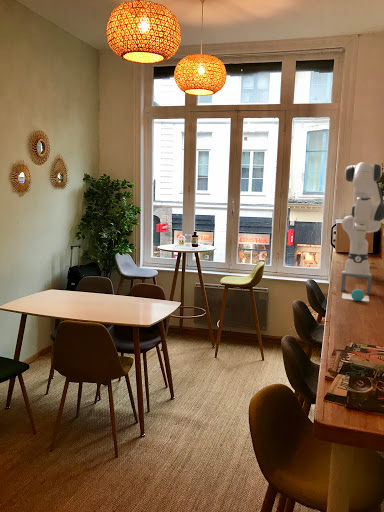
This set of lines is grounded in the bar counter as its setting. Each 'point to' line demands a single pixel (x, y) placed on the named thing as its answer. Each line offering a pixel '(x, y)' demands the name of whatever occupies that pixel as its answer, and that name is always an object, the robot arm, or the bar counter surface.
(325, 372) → the bar counter surface
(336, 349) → the bar counter surface
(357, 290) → the ball
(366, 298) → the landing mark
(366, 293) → the bridge
